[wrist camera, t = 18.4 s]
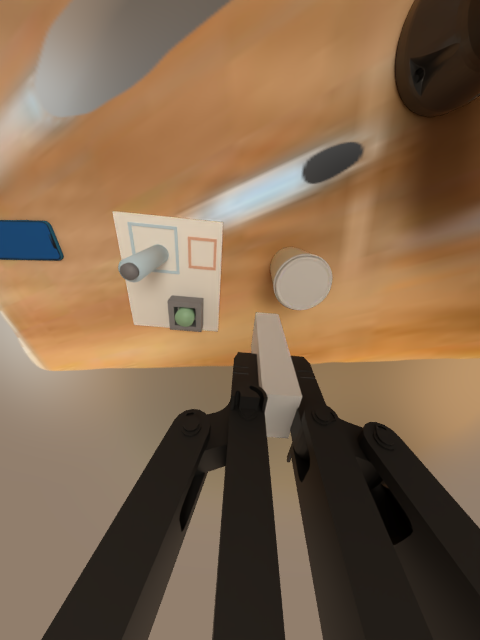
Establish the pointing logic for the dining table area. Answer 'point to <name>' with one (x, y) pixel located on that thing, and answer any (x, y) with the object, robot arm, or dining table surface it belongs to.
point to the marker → (143, 263)
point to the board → (174, 269)
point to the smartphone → (28, 241)
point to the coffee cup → (300, 278)
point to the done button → (185, 316)
